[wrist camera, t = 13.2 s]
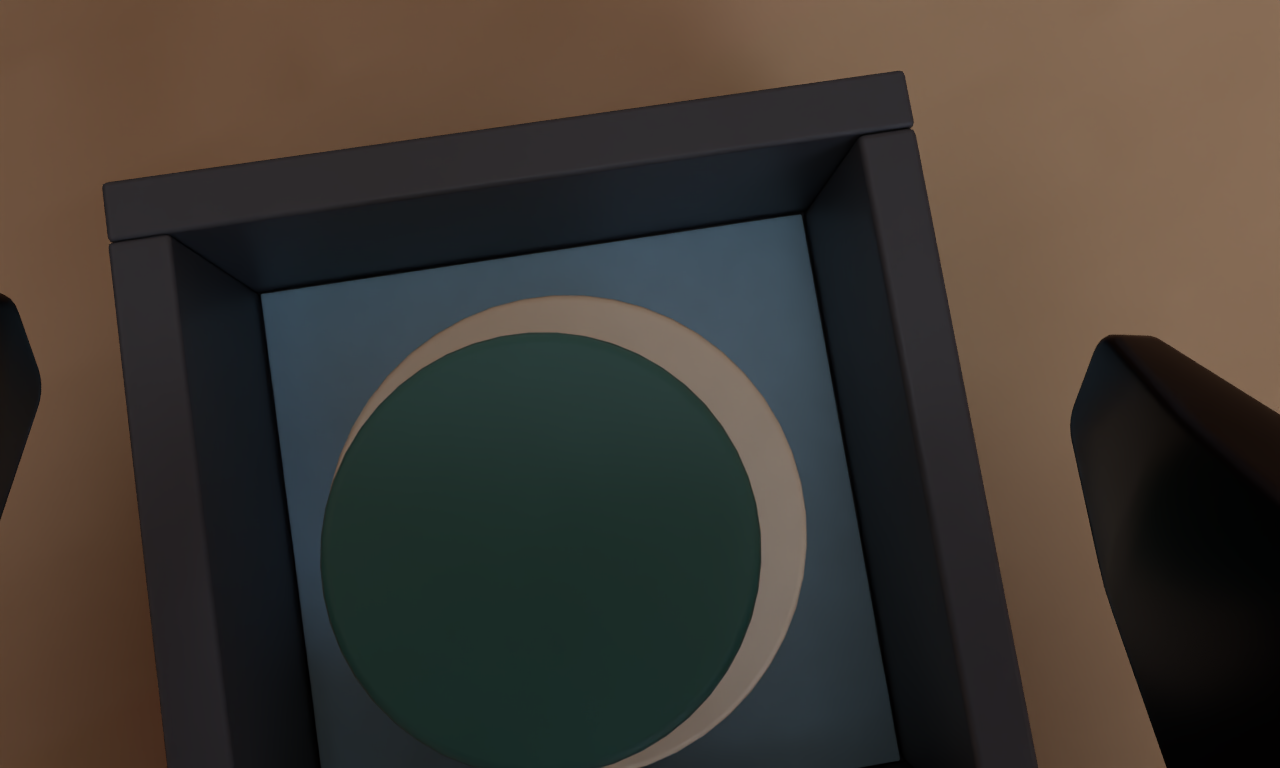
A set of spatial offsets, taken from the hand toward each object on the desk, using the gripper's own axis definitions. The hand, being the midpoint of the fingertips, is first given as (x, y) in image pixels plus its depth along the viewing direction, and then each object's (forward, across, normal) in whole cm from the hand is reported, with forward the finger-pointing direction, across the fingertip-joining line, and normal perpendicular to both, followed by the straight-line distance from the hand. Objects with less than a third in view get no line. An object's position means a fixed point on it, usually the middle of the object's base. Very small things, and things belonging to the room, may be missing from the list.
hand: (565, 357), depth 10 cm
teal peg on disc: (+5, 0, +7) cm, 9 cm away
